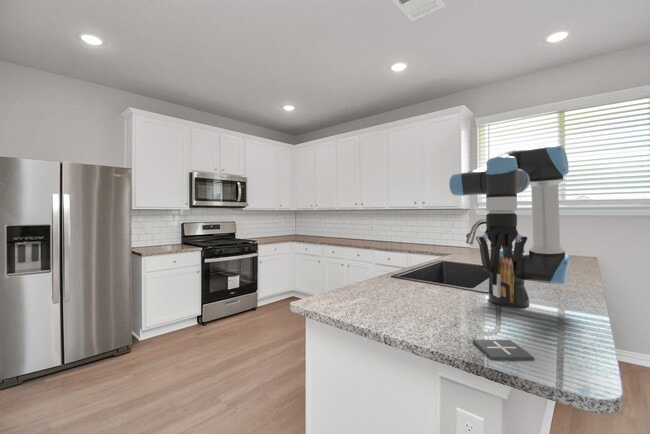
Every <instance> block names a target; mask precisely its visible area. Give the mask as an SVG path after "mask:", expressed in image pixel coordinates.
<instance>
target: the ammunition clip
mask: <svg viewBox="0 0 650 434" xmlns="http://www.w3.org/2000/svg"><path fill="white" fill-rule="evenodd" d="M498 273H499V274H501V298H498V297H496V296H495V297H496V298H498V299H500V300H502V301H504V302H506V303H508V304H516V289H515V284H514V273H513V263H512V260H511V258H510V259H509V261H508V258H507V257H506V258H505V259H504V257H503V256H502V259H501V256H500V255H499V264H498ZM489 294H491V295H493V285H492V284H491V283H490V276H489V277H488V295H489ZM493 296H494V295H493Z"/></svg>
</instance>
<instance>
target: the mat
mask: <svg viewBox="0 0 650 434" xmlns="http://www.w3.org/2000/svg"><path fill="white" fill-rule="evenodd" d="M472 340H473V341H472V343H473V344H474V345H476V347H477V348H478V349H479V350H480V351H481V352H483V354H485V355H486V356H487V357H488V358H489V359H490V360H493V361H534V360H535V356H534V355H532V354H531V353H529V352H528V351H527V350H525V349H524V348H522V347H521V346H519V344H516V343H515V342H514V341H513V340H511V339H472Z"/></svg>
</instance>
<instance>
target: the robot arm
mask: <svg viewBox="0 0 650 434" xmlns="http://www.w3.org/2000/svg"><path fill="white" fill-rule="evenodd" d="M569 172H570V170H569V161H568V156H567V153H566V150H565V148H564V146H562V144H546V145H539V146H534V147H527V148H519V149H518V148H517V149H513V150H510V151H508V152H504V153H501V154H500V155H497V156H495V157H492V158H489V159H488V160H487V161H486V163H485V164H483V165H481V166H479V167H477V168H475V169H472V170H470V171H467V172H459V173H454V174H452V175H451V176H450V178H449V183H448V184H449V190H450V193H451V194H452V195H454V196H463V197H464V196H474V195H475V196H476V195H485V197H486V198H485V199H486V202H485V206H486V207H485V208H486V209H485V210H486V212H488V213H486V214H485V216H486V217H485V222H486V223H485V225H486V226H485V227H486V229H485V231H484V234H482V235H478V236H476V237H475V239H476V241H477V244H478V245H479V251H480V257H481V258H480V260H481V266H482V270H484V271H487V272H488V273H489V277H490V283H491V284H492V285H493V295H494V296H493V295H491V294H489V293H488V302H490V303H493V304H495V305H499V306H504V307H511V308H524V307H525V308H526V307H529V306H530V297H529V294H528V291H527V289H526V285H525V281H529V282H535V283H543V284H549V285H552V284H553V285H563V284H566V282H567V280H568V278H569V277H568V276H569V273H570V268H571V261H572V260H571V256H570V255H568V254H566V249H564V248H563V247H562V246H561V243H560V242H561V240H560V239H561V235H560V234H561V231H560V199H559V198H560V197H559V196H560V193H559V185H560V184H561V182H563V181H564V176H566V175H568V174H569ZM529 186H530V187H531V188H530V189H531V190H530V191H531V214H532V215H531V216H532V218H531V219H532V241H533V243H532V244H533V245H531V247H529V248H528V252H527V251H526V250H525V245H526V242H527V240H528V236H524V235H521V234H519V232H518V230H517V226H518V214H517V213H515V212H517V211H518V198H517V197H518V194H520V193H522V192H524V191H526V190H527V189H528V187H529ZM488 241H489V242H490V245H488V243H487V242H488ZM514 241H515V242H514ZM513 243H514V246H513ZM489 246H490V247H489ZM489 248H490V252H489ZM499 255H500V256H501V259H502V256H503V257H504V259H505V258H506V257H507V258H508V261H509V259H510V258H511V260H512V263H513V273H514V284H515V289H516V304H508V303H506V302H504V301H502V300H500V299H498V298H501V274H499V273H498V264H499ZM495 296H496V297H498V298H496V297H495Z"/></svg>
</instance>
